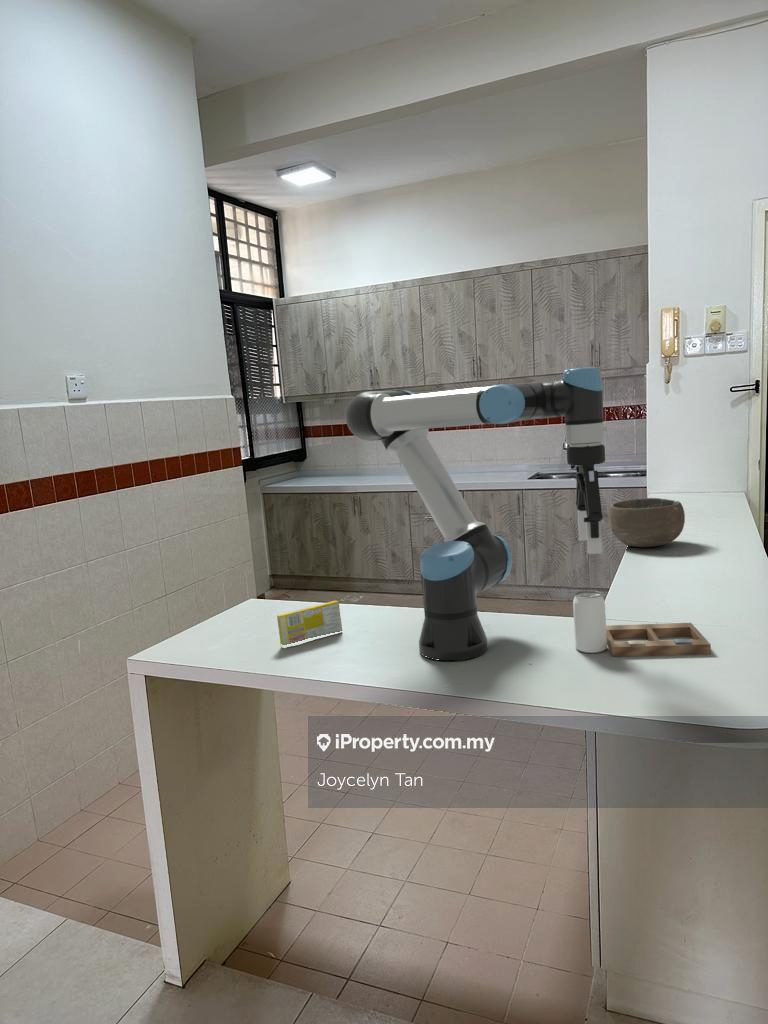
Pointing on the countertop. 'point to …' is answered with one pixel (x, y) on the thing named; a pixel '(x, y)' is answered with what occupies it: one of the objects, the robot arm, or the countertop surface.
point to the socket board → (656, 640)
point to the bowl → (646, 521)
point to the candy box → (309, 622)
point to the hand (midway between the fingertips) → (590, 546)
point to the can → (589, 622)
